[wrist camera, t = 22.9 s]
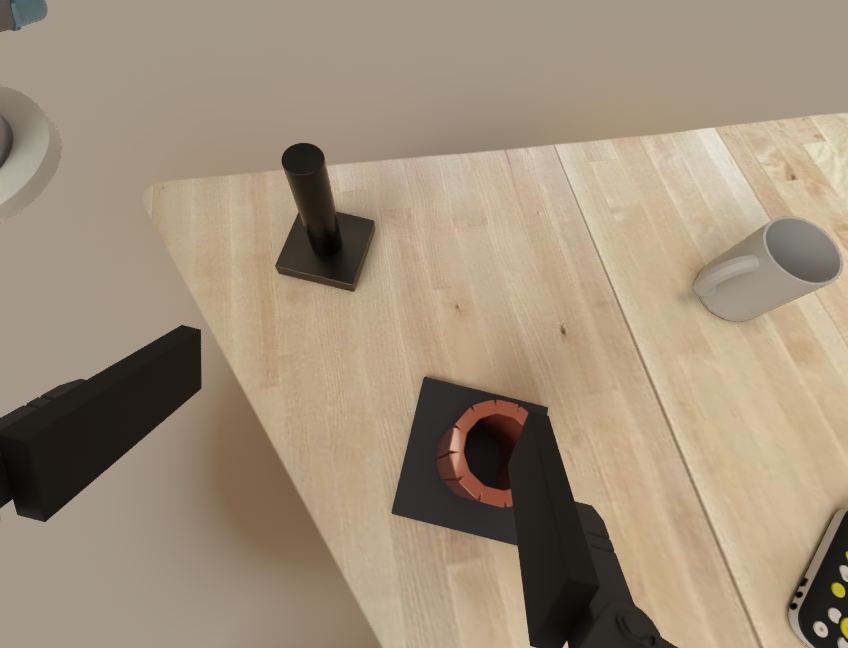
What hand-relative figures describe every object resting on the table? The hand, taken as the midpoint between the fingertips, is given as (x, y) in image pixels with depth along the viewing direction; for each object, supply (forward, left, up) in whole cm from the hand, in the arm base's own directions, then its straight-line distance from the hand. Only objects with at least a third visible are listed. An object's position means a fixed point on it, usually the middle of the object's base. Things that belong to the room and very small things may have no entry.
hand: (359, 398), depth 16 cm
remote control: (+41, -2, -21) cm, 47 cm away
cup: (+32, +24, -21) cm, 45 cm away
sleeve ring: (+9, +1, -21) cm, 23 cm away
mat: (+9, +1, -21) cm, 23 cm away
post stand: (-10, +18, -21) cm, 30 cm away
